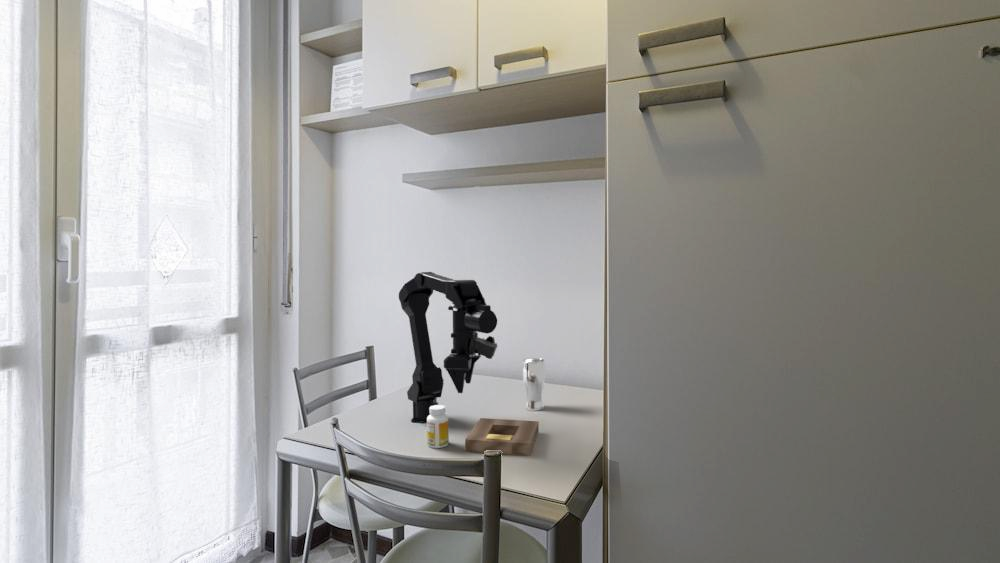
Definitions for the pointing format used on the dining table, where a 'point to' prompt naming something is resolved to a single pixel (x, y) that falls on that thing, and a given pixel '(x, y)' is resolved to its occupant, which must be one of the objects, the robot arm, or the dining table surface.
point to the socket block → (503, 436)
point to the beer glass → (534, 383)
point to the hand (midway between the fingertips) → (464, 387)
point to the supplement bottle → (437, 427)
